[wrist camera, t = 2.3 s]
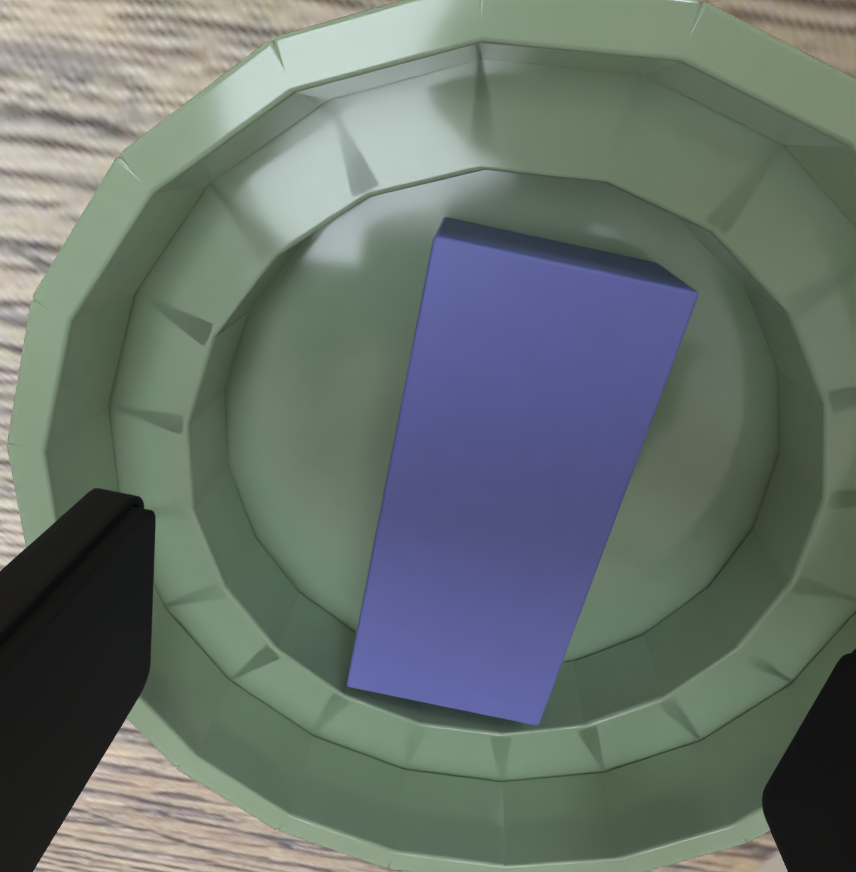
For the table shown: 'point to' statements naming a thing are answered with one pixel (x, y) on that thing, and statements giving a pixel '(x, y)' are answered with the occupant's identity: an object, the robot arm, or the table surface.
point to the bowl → (382, 394)
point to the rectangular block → (509, 463)
